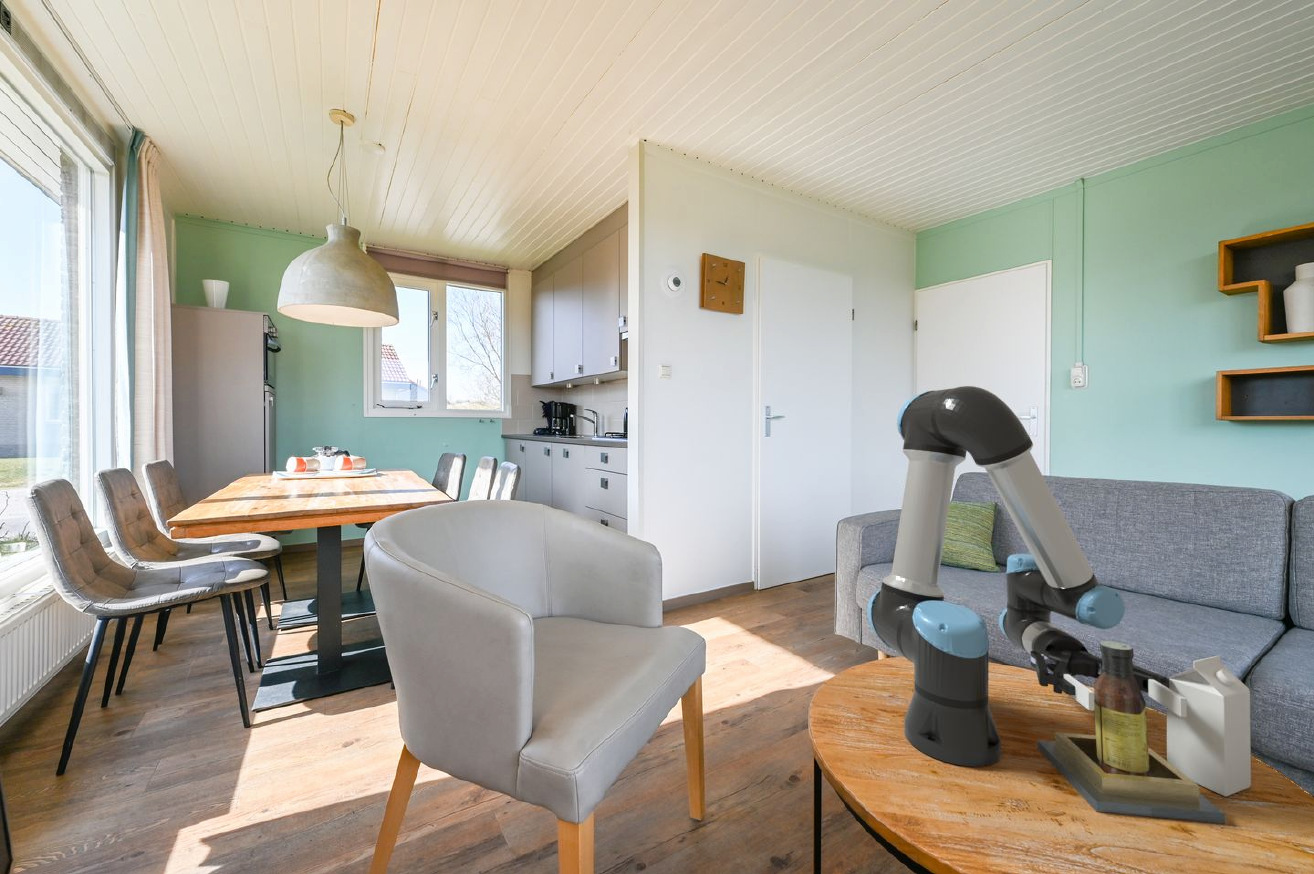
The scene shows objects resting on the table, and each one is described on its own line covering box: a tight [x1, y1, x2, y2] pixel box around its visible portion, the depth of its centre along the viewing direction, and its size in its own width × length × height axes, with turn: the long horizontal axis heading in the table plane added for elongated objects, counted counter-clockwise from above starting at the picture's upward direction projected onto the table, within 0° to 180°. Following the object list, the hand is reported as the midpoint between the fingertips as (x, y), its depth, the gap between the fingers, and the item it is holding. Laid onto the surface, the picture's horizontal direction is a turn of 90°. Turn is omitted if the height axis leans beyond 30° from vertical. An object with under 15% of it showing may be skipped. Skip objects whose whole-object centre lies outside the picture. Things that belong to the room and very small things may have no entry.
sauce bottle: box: [1093, 640, 1149, 777], centre depth 84 cm, size 7×6×20 cm
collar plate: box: [1036, 731, 1226, 825], centre depth 84 cm, size 16×16×4 cm
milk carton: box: [1166, 654, 1252, 797], centre depth 85 cm, size 7×7×19 cm
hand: (1137, 704), depth 80 cm, fingers open, 11 cm apart
